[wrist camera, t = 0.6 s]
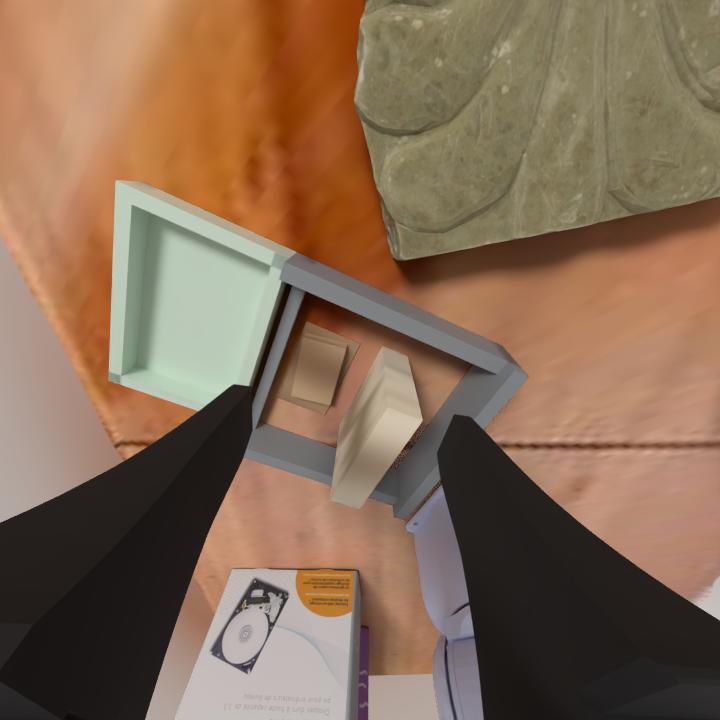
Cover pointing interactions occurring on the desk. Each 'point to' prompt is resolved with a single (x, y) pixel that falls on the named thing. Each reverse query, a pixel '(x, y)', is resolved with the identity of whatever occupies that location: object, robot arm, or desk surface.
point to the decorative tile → (535, 114)
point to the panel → (375, 428)
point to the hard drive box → (280, 649)
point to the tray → (188, 298)
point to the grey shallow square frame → (490, 360)
